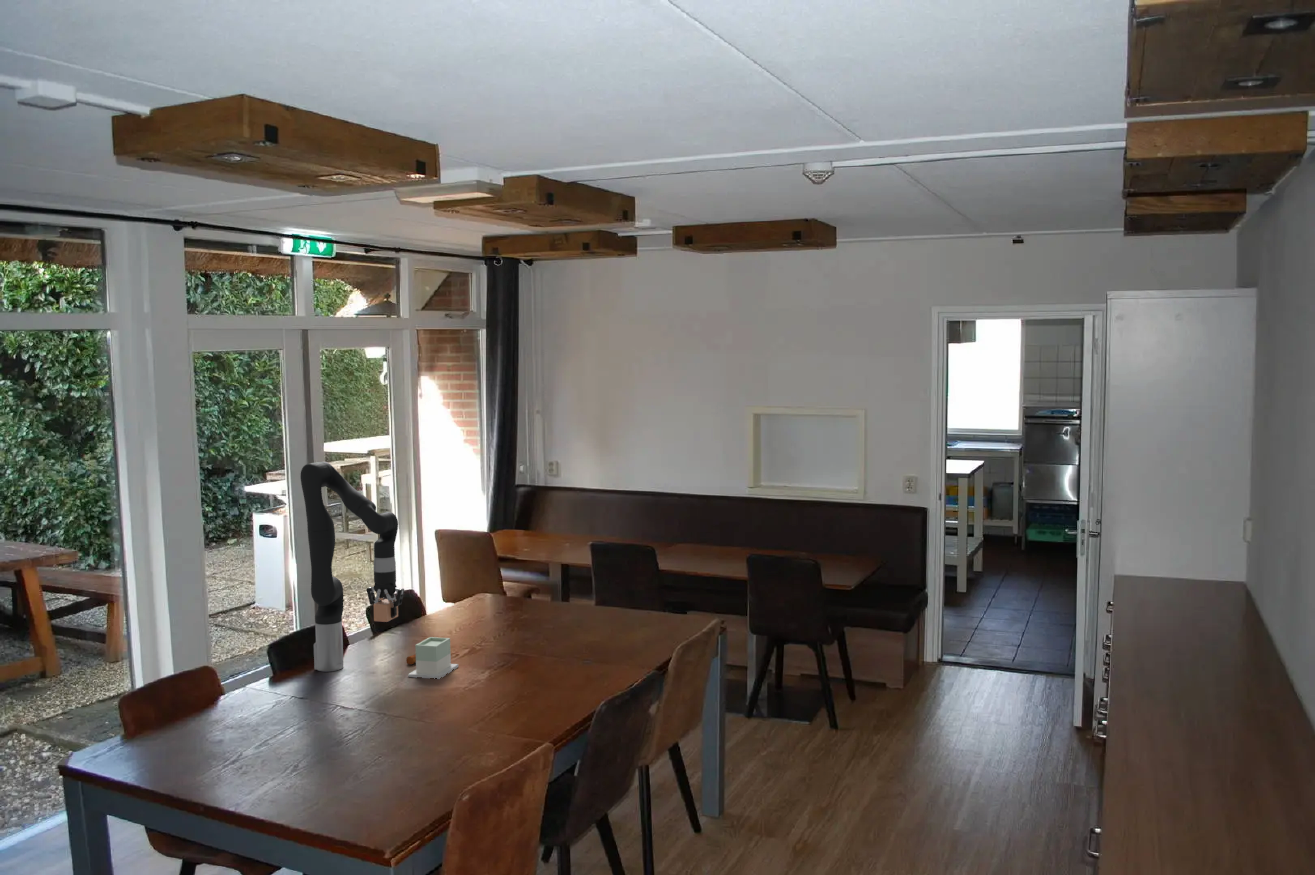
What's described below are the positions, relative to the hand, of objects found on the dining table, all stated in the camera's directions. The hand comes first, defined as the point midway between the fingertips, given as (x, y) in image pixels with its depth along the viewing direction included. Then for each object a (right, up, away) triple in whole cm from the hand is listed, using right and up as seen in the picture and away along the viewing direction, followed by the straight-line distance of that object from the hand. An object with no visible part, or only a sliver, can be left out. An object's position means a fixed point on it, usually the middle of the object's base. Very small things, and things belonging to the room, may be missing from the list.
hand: (386, 616), depth 371 cm
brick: (0, -1, 0) cm, 1 cm away
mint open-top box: (+16, -21, +5) cm, 27 cm away
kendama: (+9, -20, +24) cm, 32 cm away
